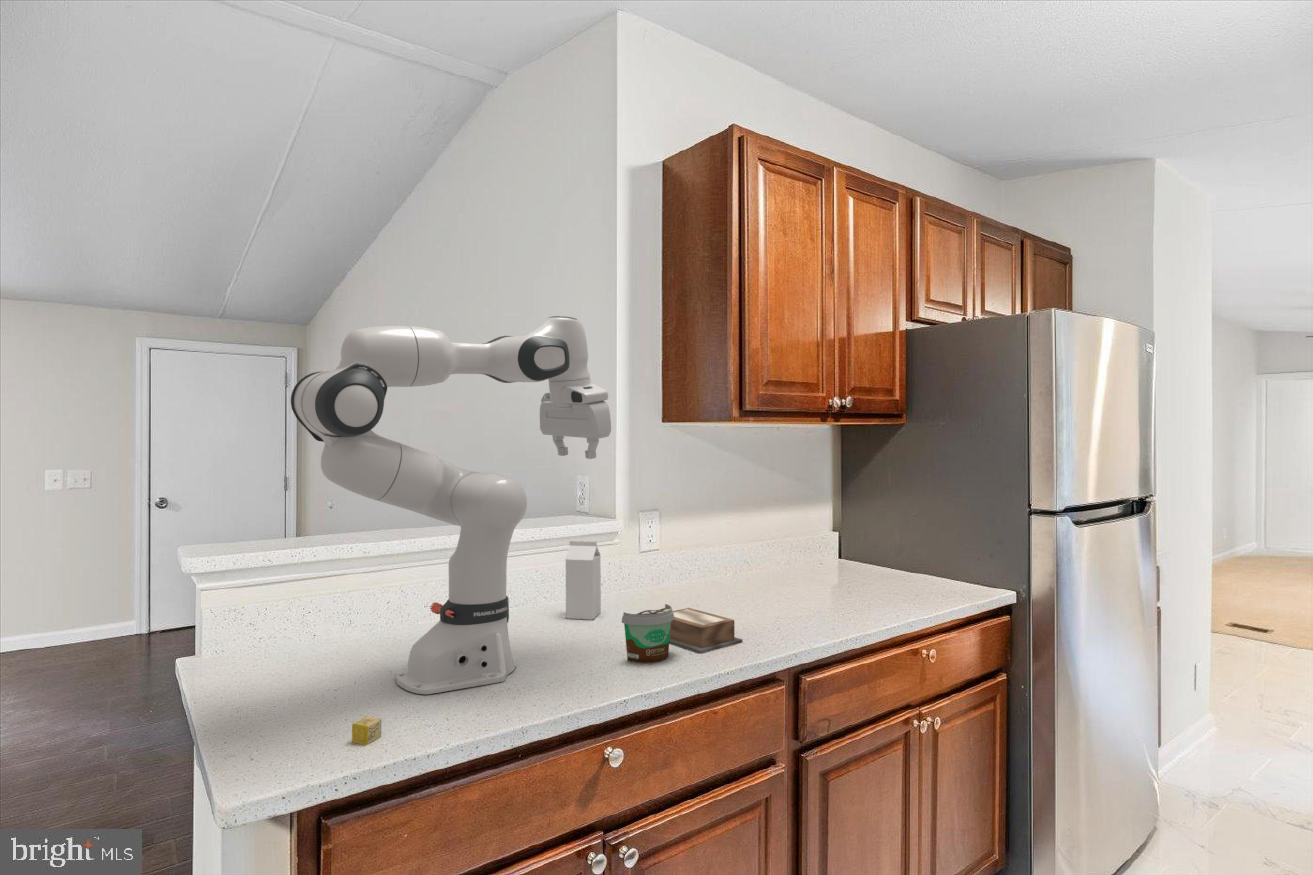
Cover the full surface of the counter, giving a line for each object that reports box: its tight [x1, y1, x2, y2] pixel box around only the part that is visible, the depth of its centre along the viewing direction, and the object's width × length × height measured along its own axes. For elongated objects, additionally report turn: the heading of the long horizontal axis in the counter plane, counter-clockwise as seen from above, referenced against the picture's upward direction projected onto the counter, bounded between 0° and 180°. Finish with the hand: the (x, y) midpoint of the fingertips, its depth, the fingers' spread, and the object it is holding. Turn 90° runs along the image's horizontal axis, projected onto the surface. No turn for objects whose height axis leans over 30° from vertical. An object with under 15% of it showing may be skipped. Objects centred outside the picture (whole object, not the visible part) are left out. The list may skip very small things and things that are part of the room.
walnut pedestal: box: [669, 607, 743, 654], centre depth 167 cm, size 13×17×5 cm
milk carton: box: [565, 540, 602, 620], centre depth 189 cm, size 7×7×19 cm
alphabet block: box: [351, 715, 382, 746], centre depth 114 cm, size 3×3×3 cm
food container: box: [621, 603, 674, 664], centre depth 153 cm, size 12×6×10 cm, turn 129°
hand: (576, 456), depth 160 cm, fingers open, 8 cm apart
